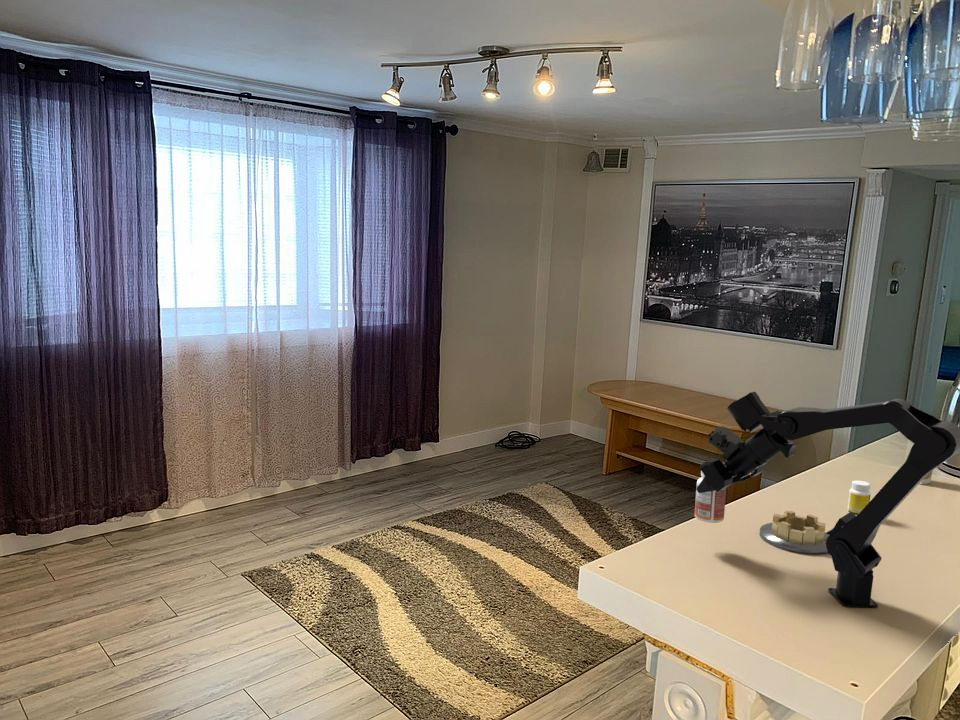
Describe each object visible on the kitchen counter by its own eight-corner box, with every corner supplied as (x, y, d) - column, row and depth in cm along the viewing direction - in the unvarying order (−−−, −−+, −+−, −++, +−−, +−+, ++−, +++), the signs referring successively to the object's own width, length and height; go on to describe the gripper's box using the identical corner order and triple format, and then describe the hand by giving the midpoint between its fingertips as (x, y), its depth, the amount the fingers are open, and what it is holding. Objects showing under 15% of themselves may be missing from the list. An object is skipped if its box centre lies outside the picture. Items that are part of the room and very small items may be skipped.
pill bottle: (719, 514, 161) (723, 466, 159) (726, 524, 155) (731, 474, 153) (691, 512, 161) (695, 464, 160) (697, 522, 155) (701, 473, 154)
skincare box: (901, 478, 214) (906, 438, 212) (910, 476, 215) (916, 437, 213) (922, 485, 208) (928, 444, 206) (932, 483, 210) (937, 442, 208)
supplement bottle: (870, 519, 180) (874, 486, 178) (850, 517, 180) (853, 484, 179) (864, 512, 184) (868, 480, 183) (844, 510, 185) (848, 478, 184)
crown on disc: (849, 555, 157) (852, 534, 157) (776, 553, 157) (779, 532, 156) (815, 527, 173) (817, 507, 172) (748, 525, 173) (750, 506, 172)
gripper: (755, 411, 158) (705, 449, 168) (712, 424, 145) (660, 464, 155) (787, 454, 154) (734, 490, 163) (746, 471, 141) (691, 509, 150)
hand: (705, 487), depth 158 cm, fingers closed on pill bottle, 6 cm apart
